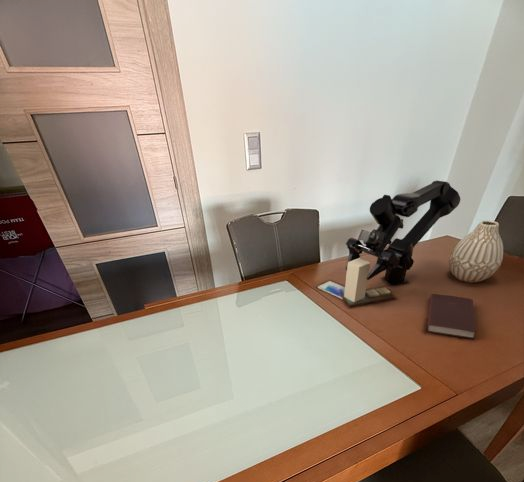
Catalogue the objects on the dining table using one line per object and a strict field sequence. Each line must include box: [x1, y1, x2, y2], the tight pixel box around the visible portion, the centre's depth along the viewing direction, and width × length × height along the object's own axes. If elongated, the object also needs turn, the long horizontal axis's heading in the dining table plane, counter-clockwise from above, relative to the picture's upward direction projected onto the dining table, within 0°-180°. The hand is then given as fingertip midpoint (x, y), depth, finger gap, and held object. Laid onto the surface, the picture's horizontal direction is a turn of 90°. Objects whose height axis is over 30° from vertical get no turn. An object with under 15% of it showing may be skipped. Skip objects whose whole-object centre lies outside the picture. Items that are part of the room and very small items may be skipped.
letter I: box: [344, 257, 371, 302], centre depth 103 cm, size 5×5×13 cm
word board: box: [340, 285, 396, 308], centre depth 108 cm, size 17×8×2 cm, turn 102°
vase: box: [448, 220, 505, 284], centre depth 108 cm, size 16×16×20 cm
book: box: [426, 293, 477, 339], centre depth 94 cm, size 12×19×3 cm, turn 155°
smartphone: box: [317, 280, 345, 300], centre depth 113 cm, size 7×1×15 cm
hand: (356, 274), depth 101 cm, fingers open, 9 cm apart
